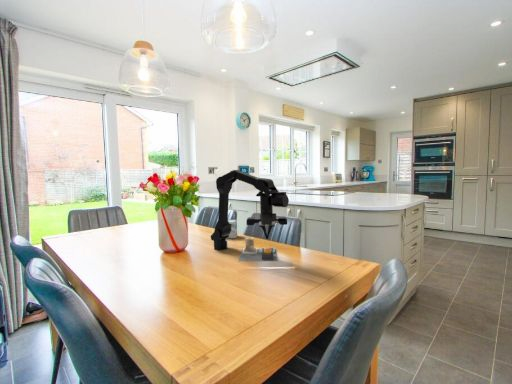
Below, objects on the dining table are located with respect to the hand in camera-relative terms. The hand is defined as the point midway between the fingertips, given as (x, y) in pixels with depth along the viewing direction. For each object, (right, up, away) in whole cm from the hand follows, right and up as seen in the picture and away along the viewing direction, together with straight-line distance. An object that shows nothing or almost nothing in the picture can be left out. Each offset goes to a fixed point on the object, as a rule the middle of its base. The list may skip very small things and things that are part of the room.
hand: (267, 239), depth 123 cm
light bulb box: (-23, -7, +45) cm, 51 cm away
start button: (0, -7, +1) cm, 7 cm away
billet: (-8, -8, +10) cm, 16 cm away
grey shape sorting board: (-4, -10, +6) cm, 12 cm away
